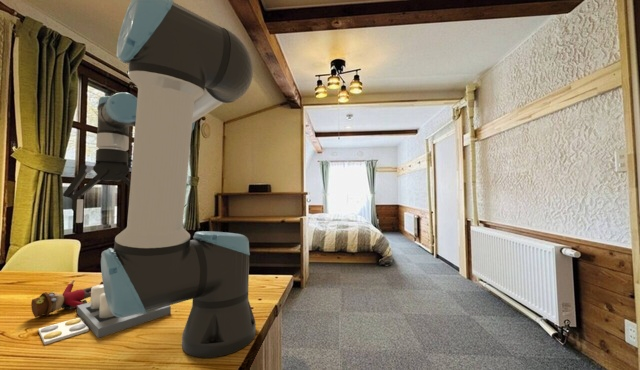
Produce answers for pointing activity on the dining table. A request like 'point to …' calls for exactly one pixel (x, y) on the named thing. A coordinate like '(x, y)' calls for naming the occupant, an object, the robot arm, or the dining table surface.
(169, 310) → the board
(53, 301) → the toy
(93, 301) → the button far left
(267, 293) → the dining table surface
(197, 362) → the dining table surface
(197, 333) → the robot arm
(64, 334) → the card
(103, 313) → the button near left
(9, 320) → the dining table surface
